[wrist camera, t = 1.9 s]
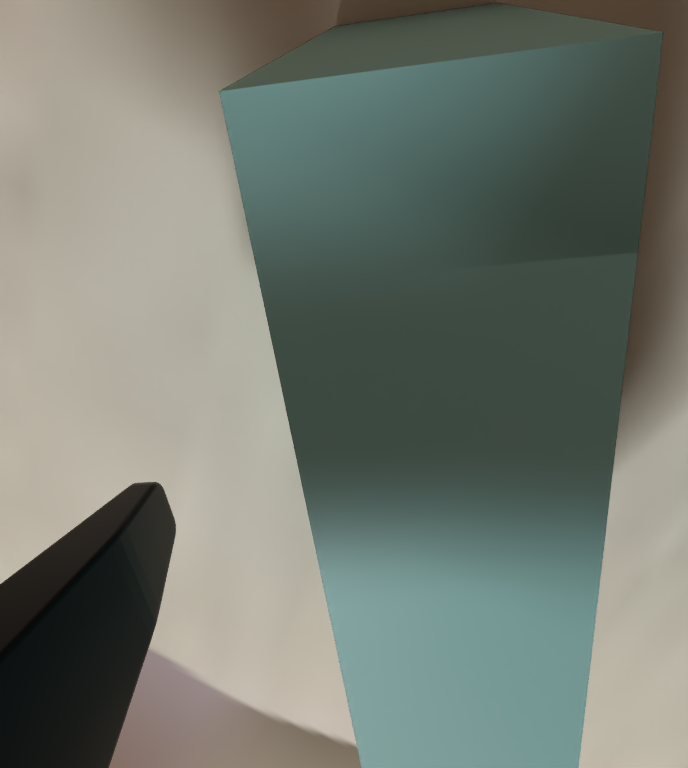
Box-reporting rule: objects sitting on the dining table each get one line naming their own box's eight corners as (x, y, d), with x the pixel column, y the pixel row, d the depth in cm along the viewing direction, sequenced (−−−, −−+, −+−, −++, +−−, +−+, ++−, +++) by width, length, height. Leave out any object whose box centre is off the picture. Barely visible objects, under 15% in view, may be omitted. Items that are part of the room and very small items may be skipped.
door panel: (499, 576, 15) (558, 944, 10) (400, 578, 16) (397, 935, 10) (498, 3, 9) (665, 31, 3) (334, 25, 10) (217, 91, 4)
